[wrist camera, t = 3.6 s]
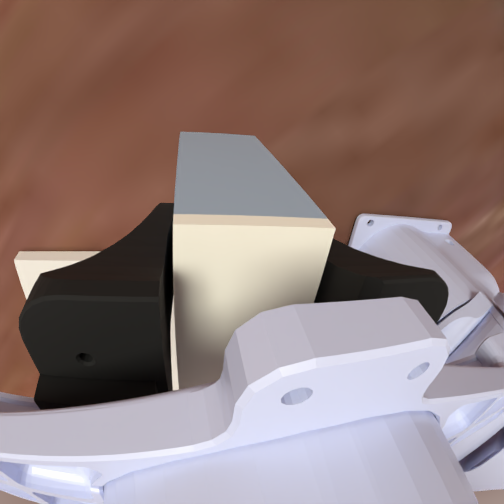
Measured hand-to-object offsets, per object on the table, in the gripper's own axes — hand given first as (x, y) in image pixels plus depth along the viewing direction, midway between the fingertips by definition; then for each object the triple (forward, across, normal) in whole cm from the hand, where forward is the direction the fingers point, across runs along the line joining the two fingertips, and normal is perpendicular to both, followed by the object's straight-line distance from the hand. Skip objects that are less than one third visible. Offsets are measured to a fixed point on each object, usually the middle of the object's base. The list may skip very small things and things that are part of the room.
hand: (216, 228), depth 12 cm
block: (+2, 0, 0) cm, 2 cm away
